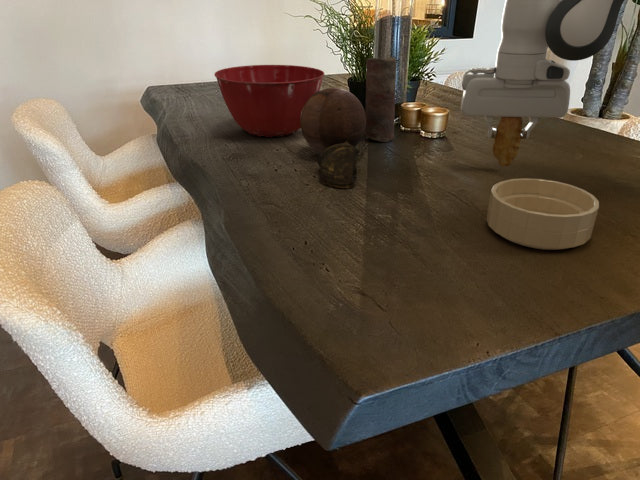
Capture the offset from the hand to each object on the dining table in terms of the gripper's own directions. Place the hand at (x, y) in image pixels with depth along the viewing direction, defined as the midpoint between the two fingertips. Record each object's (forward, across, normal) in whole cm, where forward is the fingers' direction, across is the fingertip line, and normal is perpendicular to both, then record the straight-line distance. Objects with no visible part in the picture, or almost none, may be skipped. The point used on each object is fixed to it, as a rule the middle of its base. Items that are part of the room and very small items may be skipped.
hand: (507, 137), depth 101 cm
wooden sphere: (+7, -37, +6) cm, 38 cm away
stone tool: (+6, 0, 0) cm, 6 cm away
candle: (+7, -28, +20) cm, 35 cm away
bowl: (+7, 0, -29) cm, 30 cm away
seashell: (+7, -34, -8) cm, 36 cm away
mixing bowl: (+6, -56, +24) cm, 62 cm away
